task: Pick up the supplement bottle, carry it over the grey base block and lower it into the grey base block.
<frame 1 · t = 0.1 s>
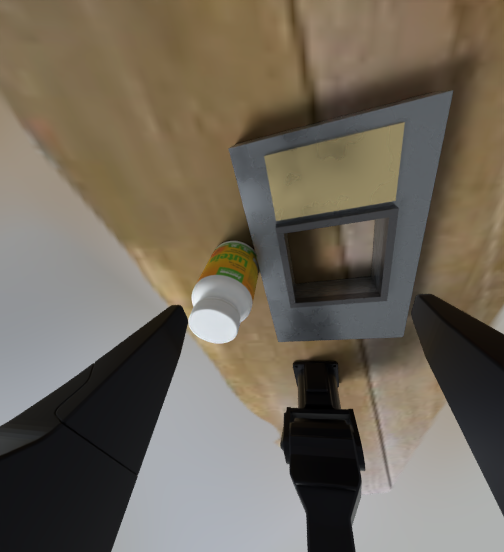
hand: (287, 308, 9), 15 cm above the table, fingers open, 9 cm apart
supplement bottle: (236, 260, 26), on the table
grey base block: (330, 248, 23), on the table
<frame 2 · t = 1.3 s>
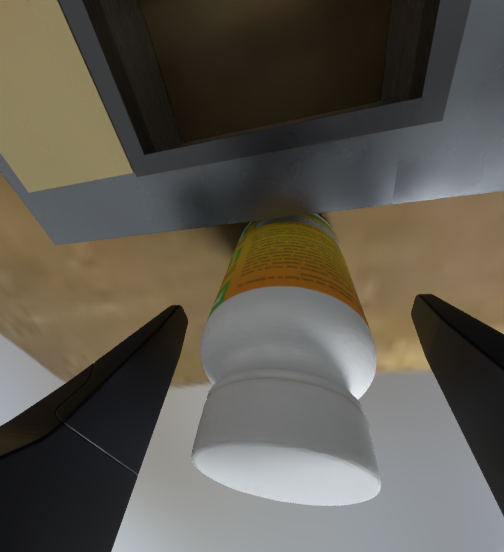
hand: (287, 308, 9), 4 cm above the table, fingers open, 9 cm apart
supplement bottle: (286, 250, 13), on the table
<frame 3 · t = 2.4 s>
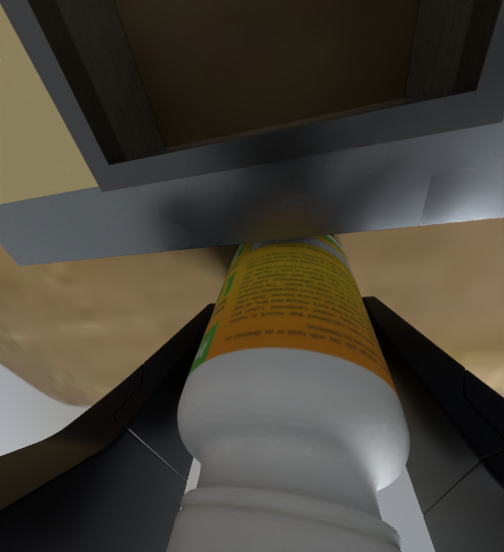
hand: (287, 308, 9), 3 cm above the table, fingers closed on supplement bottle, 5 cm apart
supplement bottle: (287, 269, 11), on the table, touching gripper
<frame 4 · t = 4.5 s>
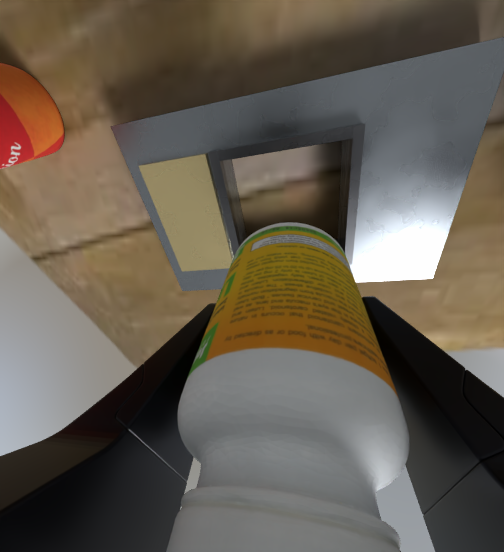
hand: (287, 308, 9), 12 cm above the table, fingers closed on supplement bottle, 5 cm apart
supplement bottle: (287, 269, 11), point 10 cm above the table, touching gripper
paper cup: (31, 113, 18), on the table
grey base block: (287, 199, 19), on the table
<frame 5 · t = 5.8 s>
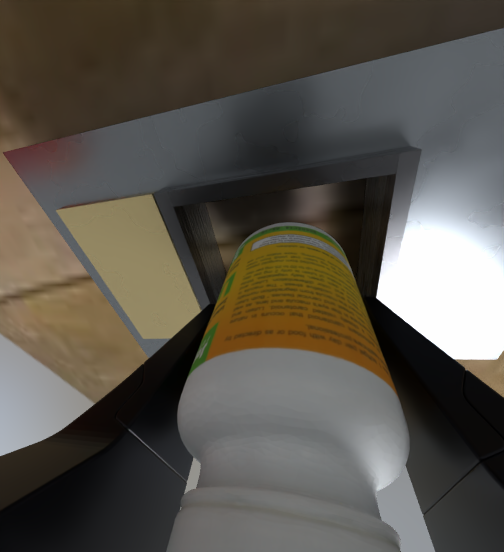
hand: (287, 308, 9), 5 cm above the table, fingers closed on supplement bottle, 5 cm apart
supplement bottle: (287, 269, 11), point 2 cm above the table, touching gripper
grey base block: (285, 246, 13), on the table
when the fingers open (4 cm above the table, at t = 6.8 s): supplement bottle drops 2 cm, resting in grey base block.
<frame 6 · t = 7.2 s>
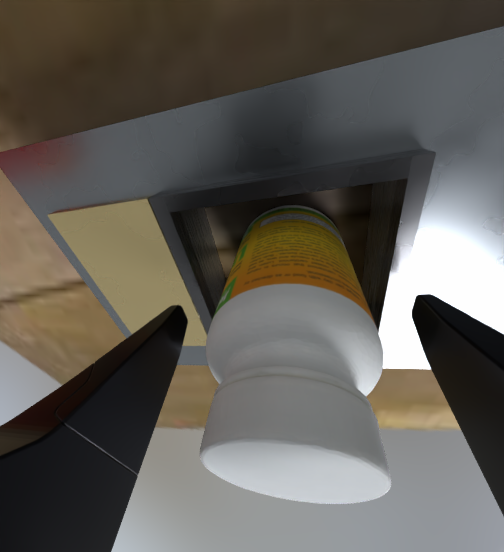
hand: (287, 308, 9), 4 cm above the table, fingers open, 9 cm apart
supplement bottle: (289, 249, 13), resting in grey base block
grey base block: (287, 251, 13), on the table
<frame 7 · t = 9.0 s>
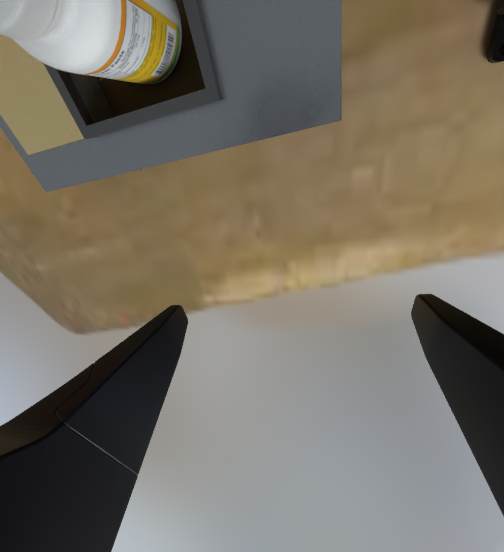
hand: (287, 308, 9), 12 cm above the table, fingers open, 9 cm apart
supplement bottle: (142, 27, 14), resting in grey base block
grey base block: (138, 27, 14), on the table
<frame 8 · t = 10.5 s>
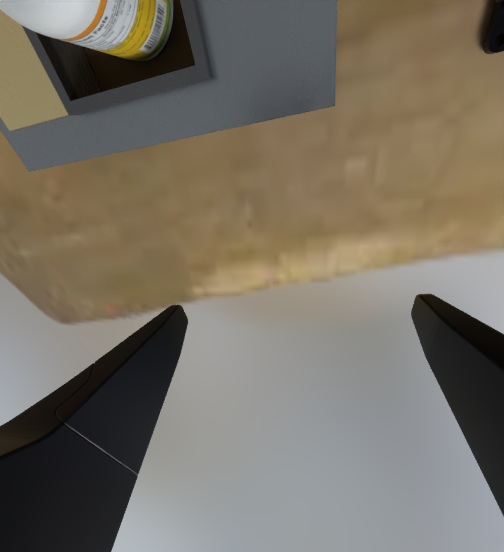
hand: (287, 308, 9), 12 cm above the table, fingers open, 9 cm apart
supplement bottle: (131, 0, 13), resting in grey base block
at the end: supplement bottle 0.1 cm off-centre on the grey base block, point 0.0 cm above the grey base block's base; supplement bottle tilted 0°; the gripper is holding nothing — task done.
